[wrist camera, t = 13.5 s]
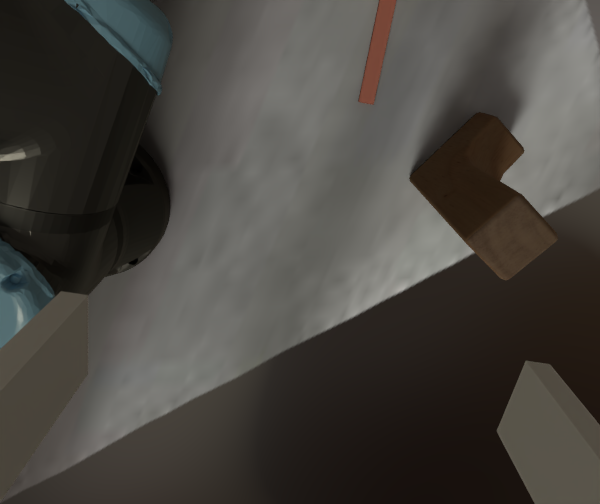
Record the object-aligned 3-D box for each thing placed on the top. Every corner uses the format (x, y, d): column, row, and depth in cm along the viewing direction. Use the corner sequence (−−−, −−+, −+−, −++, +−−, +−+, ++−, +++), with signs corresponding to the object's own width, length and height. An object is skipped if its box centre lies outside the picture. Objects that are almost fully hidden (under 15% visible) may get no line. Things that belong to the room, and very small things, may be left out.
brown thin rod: (372, 104, 45) (373, 104, 44) (358, 101, 45) (358, 101, 44) (401, -28, 41) (402, -29, 40) (385, -31, 40) (386, -32, 40)
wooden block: (478, 109, 45) (582, 138, 28) (507, 143, 46) (624, 189, 29) (406, 177, 47) (463, 241, 31) (436, 207, 48) (506, 284, 32)
